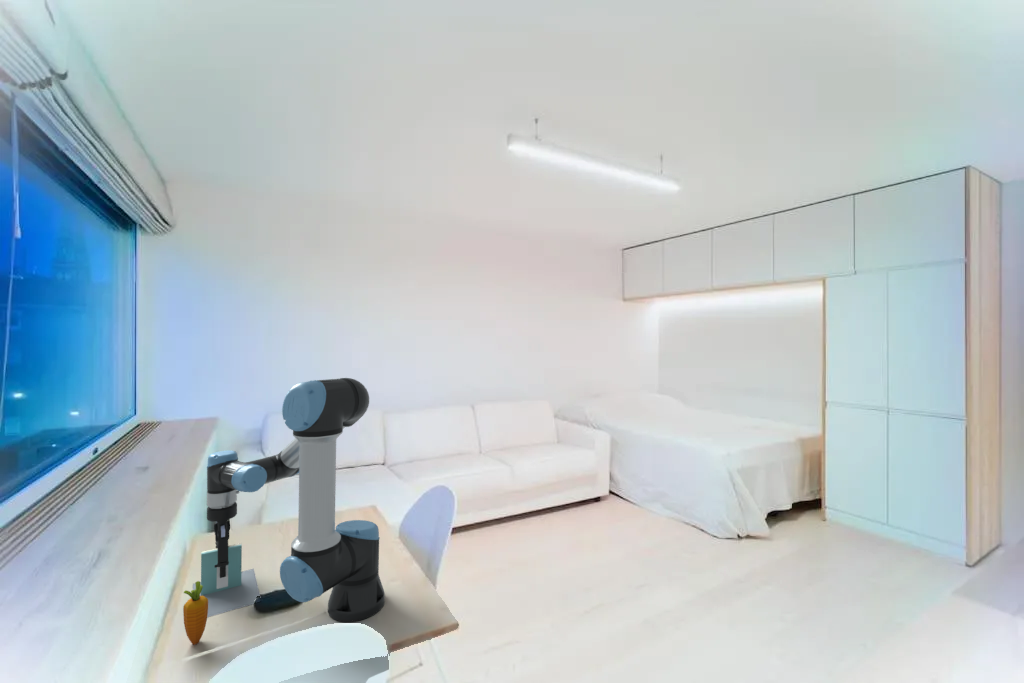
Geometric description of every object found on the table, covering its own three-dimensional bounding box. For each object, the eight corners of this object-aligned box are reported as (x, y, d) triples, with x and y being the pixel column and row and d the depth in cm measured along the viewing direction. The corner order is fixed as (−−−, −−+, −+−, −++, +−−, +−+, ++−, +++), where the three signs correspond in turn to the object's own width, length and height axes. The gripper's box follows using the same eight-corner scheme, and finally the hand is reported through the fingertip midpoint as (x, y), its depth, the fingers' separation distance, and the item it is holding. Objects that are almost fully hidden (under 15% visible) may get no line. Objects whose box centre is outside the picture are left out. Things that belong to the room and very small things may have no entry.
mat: (261, 603, 126) (261, 601, 126) (191, 624, 117) (191, 621, 117) (253, 570, 144) (253, 568, 144) (192, 585, 135) (192, 583, 135)
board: (241, 585, 134) (241, 545, 134) (200, 595, 128) (201, 554, 128) (240, 582, 136) (241, 542, 136) (200, 592, 130) (201, 551, 130)
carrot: (195, 653, 106) (196, 590, 106) (177, 650, 107) (178, 588, 107) (212, 639, 111) (213, 579, 111) (195, 637, 112) (196, 577, 112)
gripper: (239, 513, 125) (239, 592, 125) (234, 491, 144) (233, 559, 144) (207, 519, 121) (206, 601, 121) (206, 495, 139) (205, 566, 139)
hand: (221, 578), depth 132 cm, fingers open, 10 cm apart
